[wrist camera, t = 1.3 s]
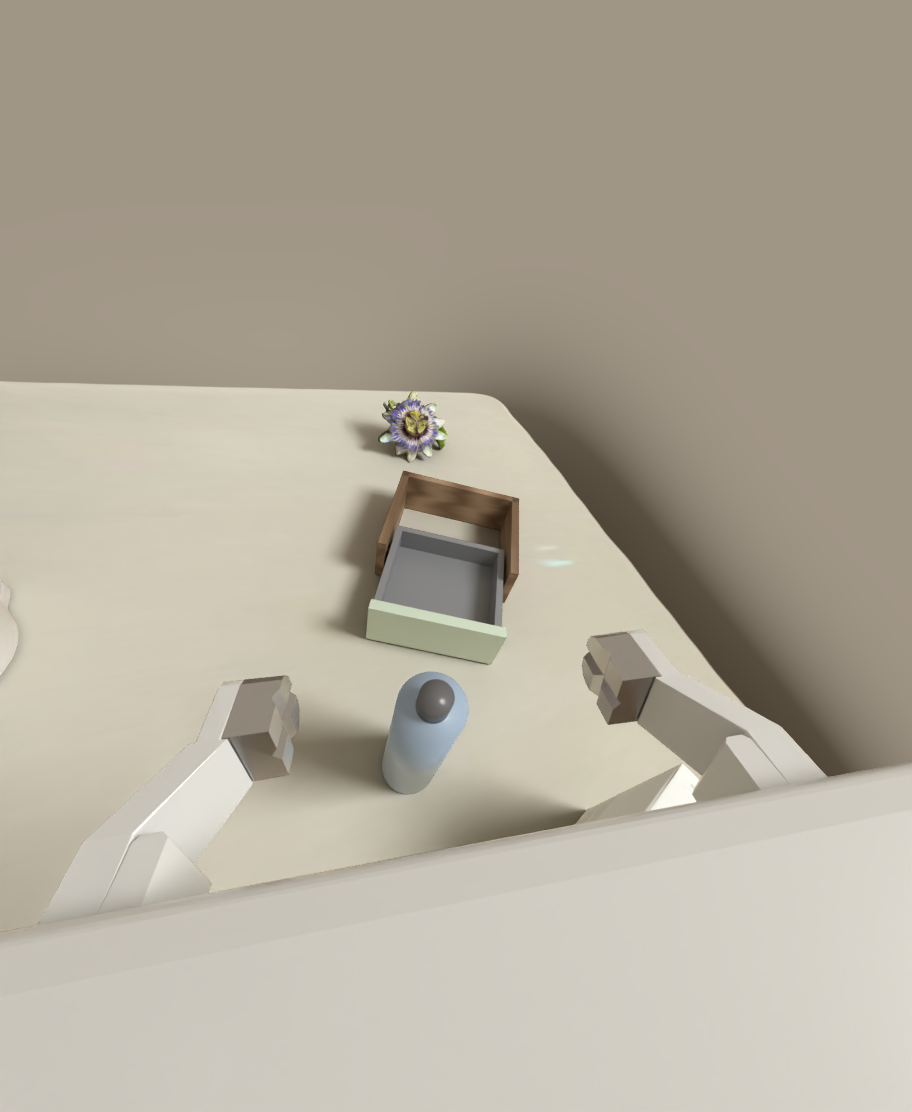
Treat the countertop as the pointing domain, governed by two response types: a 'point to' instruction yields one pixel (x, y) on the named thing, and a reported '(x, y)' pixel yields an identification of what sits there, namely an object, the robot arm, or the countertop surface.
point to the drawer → (440, 596)
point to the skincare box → (648, 796)
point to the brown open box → (455, 515)
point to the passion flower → (413, 427)
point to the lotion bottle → (423, 730)
